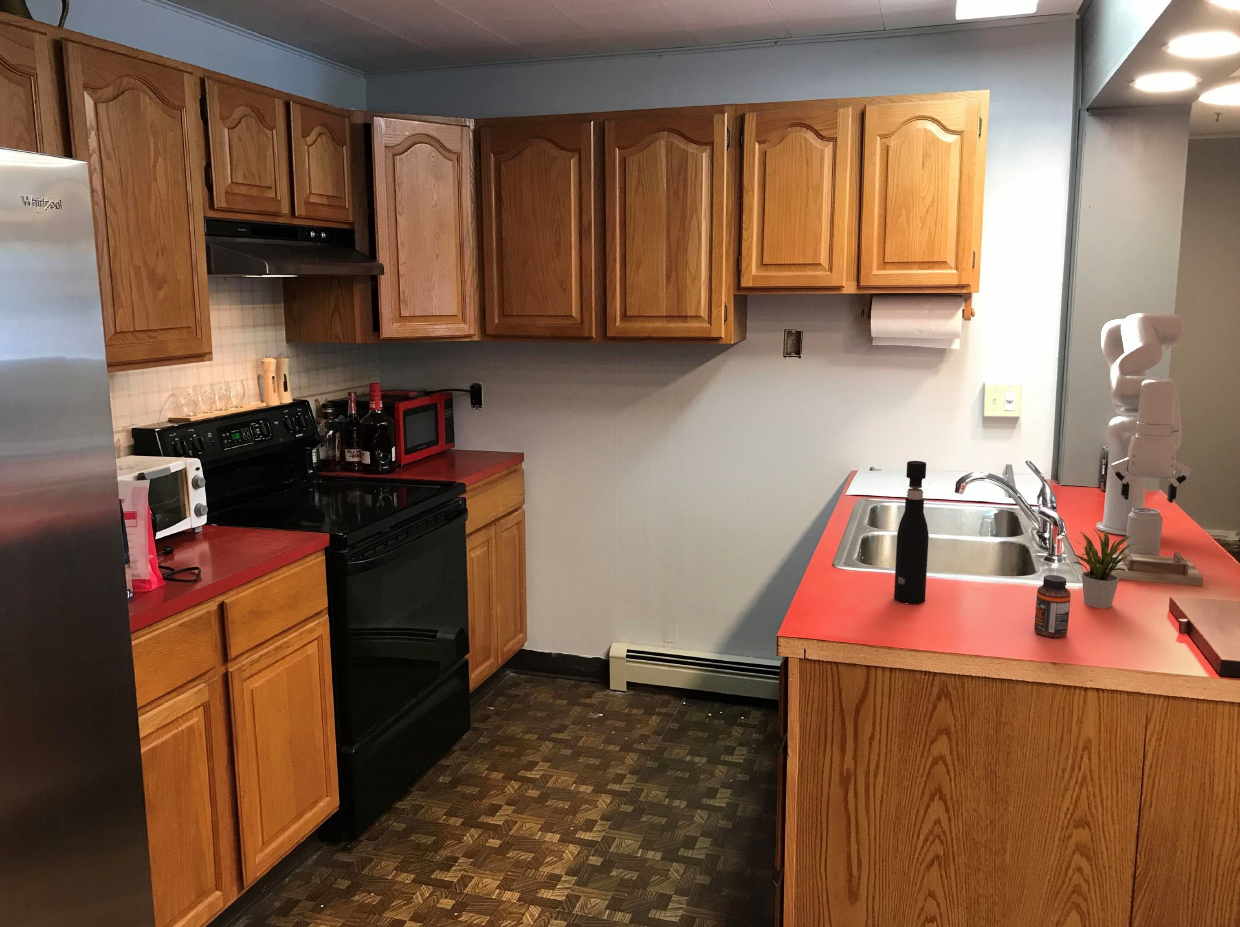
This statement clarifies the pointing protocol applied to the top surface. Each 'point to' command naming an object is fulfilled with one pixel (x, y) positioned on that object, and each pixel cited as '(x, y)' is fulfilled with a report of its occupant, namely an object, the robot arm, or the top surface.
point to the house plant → (1101, 571)
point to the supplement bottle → (1052, 607)
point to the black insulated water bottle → (912, 541)
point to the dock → (1158, 569)
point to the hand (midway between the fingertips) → (1147, 500)
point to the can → (1144, 531)
